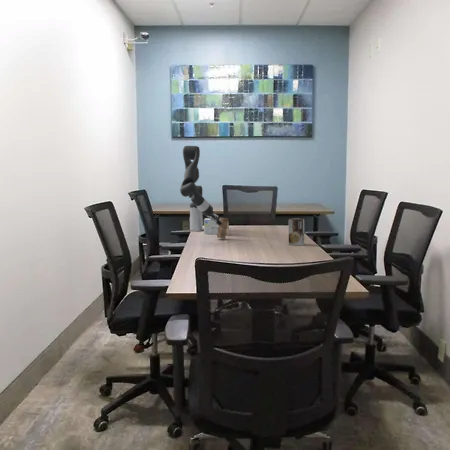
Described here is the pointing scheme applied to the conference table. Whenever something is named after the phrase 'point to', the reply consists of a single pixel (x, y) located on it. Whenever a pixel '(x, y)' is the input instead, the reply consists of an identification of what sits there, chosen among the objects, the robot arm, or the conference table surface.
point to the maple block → (227, 229)
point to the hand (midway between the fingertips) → (220, 224)
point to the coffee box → (296, 231)
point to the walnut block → (222, 228)
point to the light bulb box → (210, 226)
